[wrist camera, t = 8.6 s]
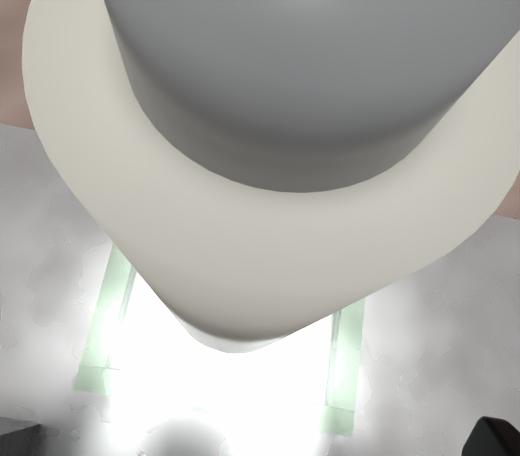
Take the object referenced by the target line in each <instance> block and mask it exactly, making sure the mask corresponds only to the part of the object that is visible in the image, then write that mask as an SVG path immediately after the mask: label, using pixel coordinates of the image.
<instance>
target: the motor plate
mask: <svg viewBox="0 0 520 456" xmlns="http://www.w3.org/2000/svg"><path fill="white" fill-rule="evenodd" d="M482 416H488V417H494V418H500V419H504V420H506V421H508V422H509V423H511V424H512V425H513V426H514V427H515V428H516V429H517V430H518V431H519V432H520V220H517V219H512V218H507V217H501V216H496V215H490V217H489V218H488V219H487V220H486V221H485V222H484V223H483V224H482V225H481V226H480V227H479V229H478V230H477V231H476V232H474V233H473V234H472V235H471V236H469V237H468V238H467V239H466V240H464V241H463V242H462V243H461V244H459V245H458V246H457V247H456V248H454V249H453V250H452V251H451V252H449V253H447V254H446V255H444V256H442V257H441V258H439V259H437V260H435V261H434V262H432V263H430V264H428V265H427V266H425V267H423V268H422V269H420V270H418V271H416V272H414V273H412V274H410V275H408V276H406V277H404V278H402V279H400V280H398V281H396V282H394V283H392V284H390V285H388V286H386V287H384V288H382V289H380V290H378V291H376V292H374V293H372V294H371V295H369V296H367V297H365V298H363V299H361V300H359V301H357V302H355V303H353V304H351V305H349V306H347V307H345V308H343V309H341V310H339V311H337V312H335V313H333V314H331V315H329V316H327V317H325V318H323V319H321V320H319V321H317V322H315V323H313V324H311V325H309V326H307V327H305V328H303V329H302V330H300V331H298V332H296V333H294V334H292V335H290V336H288V337H286V338H284V339H282V340H280V341H278V342H276V343H274V344H272V345H270V346H268V347H266V348H263V349H261V350H258V351H255V352H251V353H244V354H229V353H223V352H219V351H216V350H212V349H210V348H208V347H206V346H204V345H202V344H201V343H199V342H198V341H196V340H195V339H194V338H192V337H191V336H190V335H189V334H188V333H187V332H186V331H185V330H184V328H183V327H182V326H181V325H180V324H179V322H178V321H177V320H176V319H175V317H174V316H173V315H172V314H171V313H170V311H169V310H168V309H167V308H166V306H165V305H164V304H163V303H162V301H161V300H160V299H159V298H158V297H157V295H156V294H155V293H154V292H153V290H152V289H151V288H150V287H149V286H148V284H147V283H146V282H145V281H144V279H143V278H142V277H141V276H140V274H139V273H138V272H137V271H136V270H135V268H134V267H133V266H132V265H131V263H130V262H129V261H128V260H127V259H126V257H125V256H124V255H123V254H122V252H121V251H120V250H119V249H118V248H117V246H116V245H115V244H114V243H113V241H112V240H111V239H110V238H109V236H108V235H107V234H106V233H105V232H104V230H103V229H102V228H101V227H100V225H99V224H98V223H97V222H96V221H95V219H94V218H93V217H92V216H91V214H90V213H89V212H88V211H87V209H86V208H85V207H84V206H83V205H82V203H81V202H80V201H79V200H78V198H77V197H76V196H75V195H74V194H73V192H72V191H71V190H70V189H69V187H68V186H67V184H66V183H65V181H64V180H63V178H62V177H61V175H60V174H59V173H58V171H57V170H56V168H55V167H54V165H53V164H52V162H51V161H50V159H49V157H48V155H47V153H46V151H45V149H44V147H43V145H42V142H41V140H40V138H39V136H38V134H37V132H36V130H31V129H25V128H20V127H14V126H9V125H3V124H0V456H461V451H462V447H463V445H464V443H465V441H466V439H467V438H468V436H469V434H470V432H471V430H472V429H473V427H474V425H475V423H476V421H477V420H478V419H479V418H480V417H482Z"/></svg>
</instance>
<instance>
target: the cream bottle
mask: <svg viewBox="0 0 520 456" xmlns="http://www.w3.org/2000/svg"><path fill="white" fill-rule="evenodd" d="M22 72H23V80H24V89H25V96H26V100H27V103H28V107H29V110H30V114H31V117H32V121H33V124H34V128H35V130H36V132H37V134H38V136H39V138H40V140H41V142H42V145H43V147H44V149H45V151H46V153H47V155H48V157H49V159H50V161H51V162H52V164H53V165H54V167H55V168H56V170H57V171H58V173H59V174H60V175H61V177H62V178H63V180H64V181H65V183H66V184H67V186H68V187H69V189H70V190H71V191H72V192H73V194H74V195H75V196H76V197H77V198H78V200H79V201H80V202H81V203H82V205H83V206H84V207H85V208H86V209H87V211H88V212H89V213H90V214H91V216H92V217H93V218H94V219H95V221H96V222H97V223H98V224H99V225H100V227H101V228H102V229H103V230H104V232H105V233H106V234H107V235H108V236H109V238H110V239H111V240H112V241H113V243H114V244H115V245H116V246H117V248H118V249H119V250H120V251H121V252H122V254H123V255H124V256H125V257H126V259H127V260H128V261H129V262H130V263H131V265H132V266H133V267H134V268H135V270H136V271H137V272H138V273H139V274H140V276H141V277H142V278H143V279H144V281H145V282H146V283H147V284H148V286H149V287H150V288H151V289H152V290H153V292H154V293H155V294H156V295H157V297H158V298H159V299H160V300H161V301H162V303H163V304H164V305H165V306H166V308H167V309H168V310H169V311H170V313H171V314H172V315H173V316H174V317H175V319H176V320H177V321H178V322H179V324H180V325H181V326H182V327H183V328H184V330H185V331H186V332H187V333H188V334H189V335H190V336H191V337H192V338H194V339H195V340H196V341H198V342H199V343H201V344H202V345H204V346H206V347H208V348H210V349H212V350H216V351H219V352H223V353H229V354H244V353H251V352H255V351H258V350H261V349H263V348H266V347H268V346H270V345H272V344H274V343H276V342H278V341H280V340H282V339H284V338H286V337H288V336H290V335H292V334H294V333H296V332H298V331H300V330H302V329H303V328H305V327H307V326H309V325H311V324H313V323H315V322H317V321H319V320H321V319H323V318H325V317H327V316H329V315H331V314H333V313H335V312H337V311H339V310H341V309H343V308H345V307H347V306H349V305H351V304H353V303H355V302H357V301H359V300H361V299H363V298H365V297H367V296H369V295H371V294H372V293H374V292H376V291H378V290H380V289H382V288H384V287H386V286H388V285H390V284H392V283H394V282H396V281H398V280H400V279H402V278H404V277H406V276H408V275H410V274H412V273H414V272H416V271H418V270H420V269H422V268H423V267H425V266H427V265H428V264H430V263H432V262H434V261H435V260H437V259H439V258H441V257H442V256H444V255H446V254H447V253H449V252H451V251H452V250H453V249H454V248H456V247H457V246H458V245H459V244H461V243H462V242H463V241H464V240H466V239H467V238H468V237H469V236H471V235H472V234H473V233H474V232H476V231H477V230H478V229H479V227H480V226H481V225H482V224H483V223H484V222H485V221H486V220H487V219H488V218H489V217H490V215H491V214H492V213H493V212H494V211H495V210H496V209H497V208H498V206H499V205H500V203H501V202H502V200H503V199H504V197H505V196H506V194H507V193H508V191H509V189H510V188H511V186H512V185H513V183H514V182H515V179H516V177H517V175H518V173H519V171H520V0H31V3H30V5H29V9H28V14H27V19H26V23H25V28H24V33H23V47H22Z"/></svg>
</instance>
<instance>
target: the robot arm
mask: <svg viewBox="0 0 520 456" xmlns="http://www.w3.org/2000/svg"><path fill="white" fill-rule="evenodd" d="M461 456H520V432H519V431H518V430H517V429H516V428H515V427H514V426H513V425H512V424H511V423H509V422H508V421H506V420H504V419H500V418H494V417H488V416H482V417H480V418H479V419H478V420H477V421H476V423H475V425H474V427H473V429H472V430H471V432H470V434H469V436H468V438H467V439H466V441H465V443H464V445H463V447H462V451H461Z"/></svg>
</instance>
